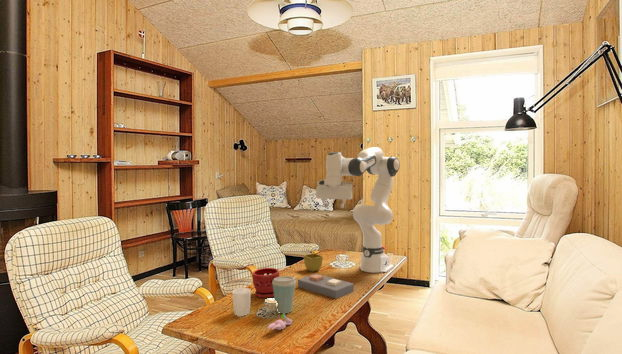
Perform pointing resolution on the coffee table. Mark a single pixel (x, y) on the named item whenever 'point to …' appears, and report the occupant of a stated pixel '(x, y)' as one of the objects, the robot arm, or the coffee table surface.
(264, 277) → the plant pot
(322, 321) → the coffee table surface
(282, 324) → the pink flower
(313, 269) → the flower pot
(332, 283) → the cream key
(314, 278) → the terracotta key
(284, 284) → the disposable coffee cup
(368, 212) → the robot arm
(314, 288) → the key panel
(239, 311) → the white cup
